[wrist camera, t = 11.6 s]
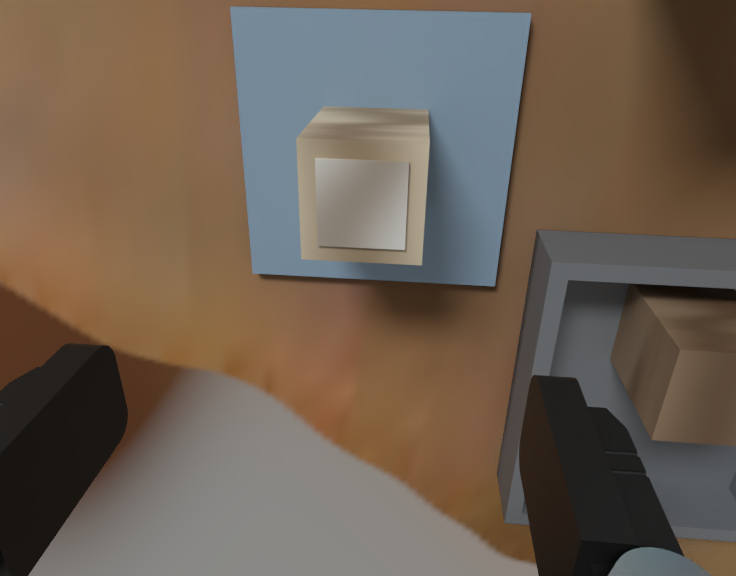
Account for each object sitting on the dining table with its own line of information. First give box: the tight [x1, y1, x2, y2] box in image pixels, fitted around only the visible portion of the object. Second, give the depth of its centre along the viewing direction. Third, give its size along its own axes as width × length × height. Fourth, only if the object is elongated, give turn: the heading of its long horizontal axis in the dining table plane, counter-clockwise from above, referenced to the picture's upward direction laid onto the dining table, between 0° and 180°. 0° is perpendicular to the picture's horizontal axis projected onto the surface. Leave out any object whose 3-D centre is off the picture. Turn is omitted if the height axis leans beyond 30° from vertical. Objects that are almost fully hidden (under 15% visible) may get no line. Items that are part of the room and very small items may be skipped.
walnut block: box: [610, 283, 736, 446], centre depth 25 cm, size 4×4×6 cm
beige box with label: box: [296, 106, 430, 265], centre depth 23 cm, size 4×4×6 cm
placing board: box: [230, 7, 531, 286], centre depth 26 cm, size 12×12×1 cm
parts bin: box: [497, 230, 736, 542], centre depth 29 cm, size 14×16×4 cm
